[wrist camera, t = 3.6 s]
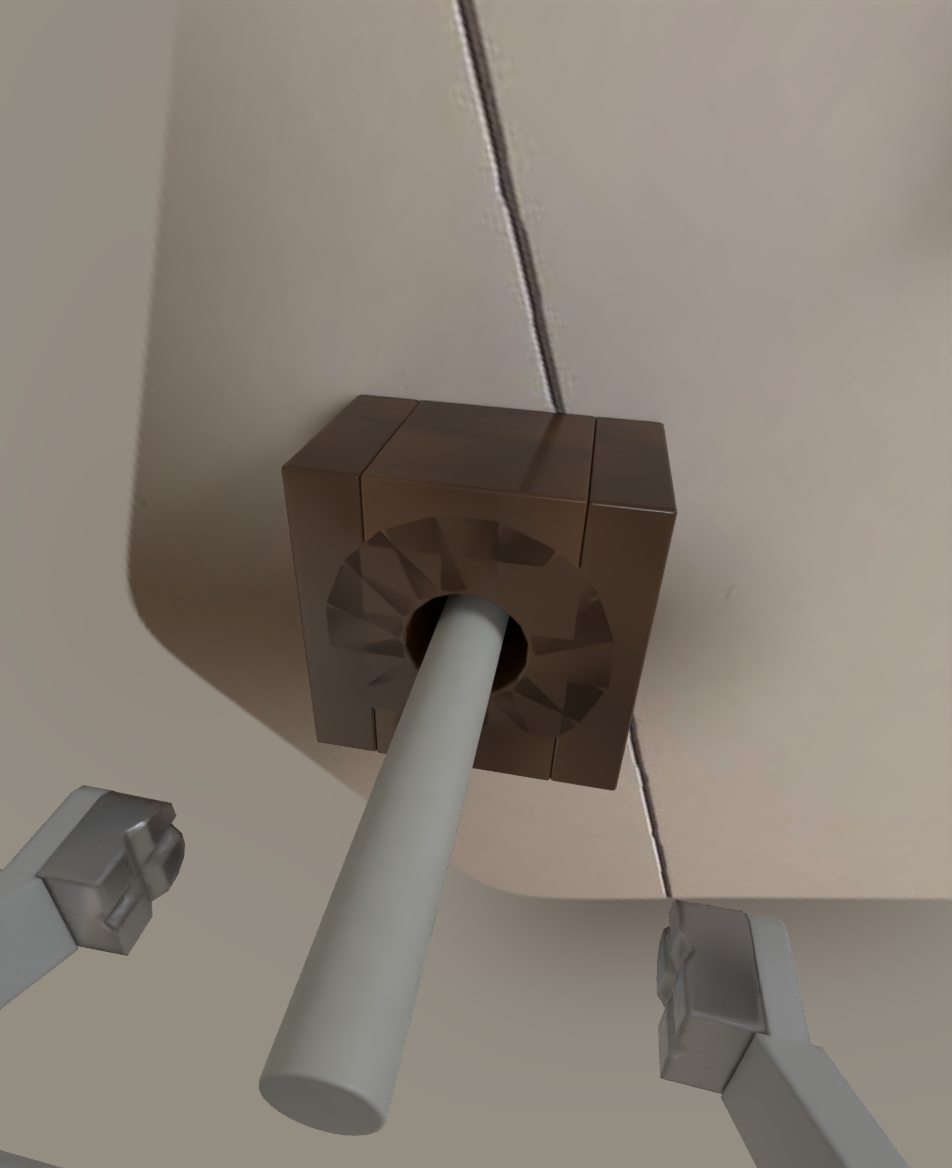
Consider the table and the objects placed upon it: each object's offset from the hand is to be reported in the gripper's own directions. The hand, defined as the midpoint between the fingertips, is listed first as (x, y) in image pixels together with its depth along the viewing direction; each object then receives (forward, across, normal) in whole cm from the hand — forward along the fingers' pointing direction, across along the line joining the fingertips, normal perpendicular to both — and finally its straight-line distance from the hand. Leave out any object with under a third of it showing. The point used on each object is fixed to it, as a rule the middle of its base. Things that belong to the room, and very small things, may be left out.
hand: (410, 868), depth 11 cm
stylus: (+11, 0, 0) cm, 11 cm away
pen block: (+11, 0, 0) cm, 11 cm away
